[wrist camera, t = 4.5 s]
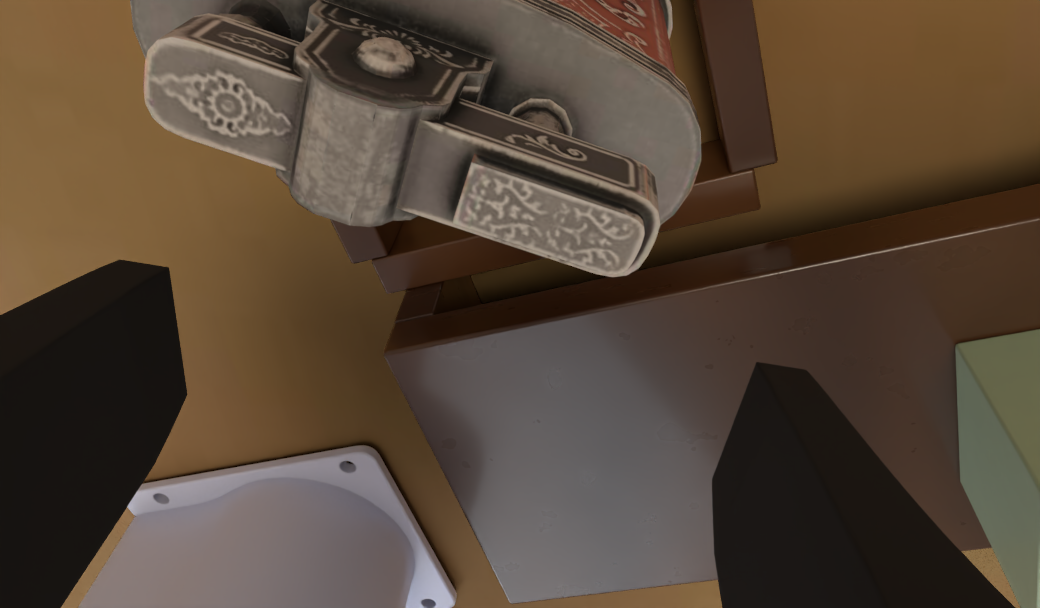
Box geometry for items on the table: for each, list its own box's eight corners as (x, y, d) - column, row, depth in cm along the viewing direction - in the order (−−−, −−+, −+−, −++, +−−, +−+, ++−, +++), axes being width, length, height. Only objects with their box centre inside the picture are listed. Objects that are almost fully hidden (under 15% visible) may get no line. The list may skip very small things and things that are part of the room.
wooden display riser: (495, 488, 26) (475, 609, 22) (141, -265, 15) (-8, -272, 12) (1123, 390, 22) (1228, 522, 18) (1243, -765, 11) (1566, -1031, 7)
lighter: (294, -14, 18) (18, 188, 10) (319, -184, 16) (4, -115, 8) (634, 107, 19) (651, 389, 10) (697, -41, 17) (780, 160, 8)
